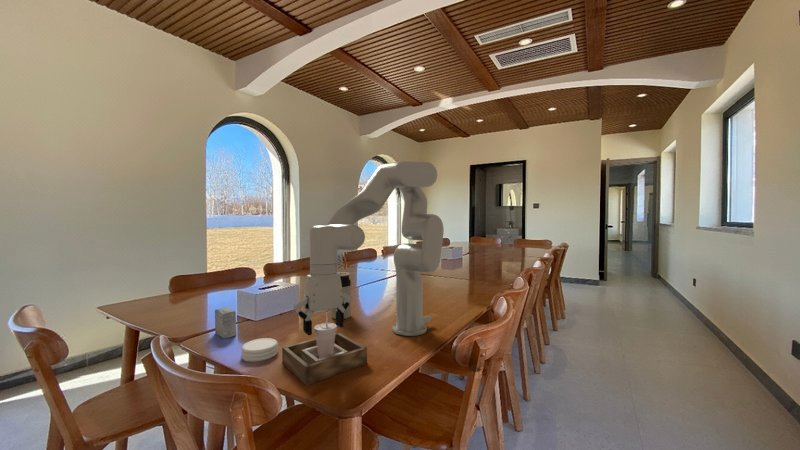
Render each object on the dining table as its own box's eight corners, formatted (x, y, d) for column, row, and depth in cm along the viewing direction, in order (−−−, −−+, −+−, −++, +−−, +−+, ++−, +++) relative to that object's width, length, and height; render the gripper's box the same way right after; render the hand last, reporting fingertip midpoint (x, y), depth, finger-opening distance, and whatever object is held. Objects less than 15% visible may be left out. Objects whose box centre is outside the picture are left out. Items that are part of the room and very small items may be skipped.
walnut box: (338, 346, 103) (338, 332, 103) (367, 363, 91) (367, 348, 91) (282, 362, 92) (282, 347, 92) (306, 385, 80) (306, 367, 80)
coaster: (241, 365, 91) (240, 353, 91) (242, 351, 100) (242, 340, 100) (278, 358, 95) (278, 347, 95) (276, 346, 104) (276, 335, 104)
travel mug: (348, 320, 130) (348, 275, 129) (329, 319, 130) (328, 275, 129) (352, 313, 138) (352, 271, 137) (333, 313, 138) (333, 271, 137)
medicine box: (236, 335, 113) (236, 311, 113) (222, 339, 110) (222, 313, 109) (228, 330, 118) (227, 306, 118) (214, 333, 115) (214, 309, 115)
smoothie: (325, 367, 87) (325, 316, 87) (309, 361, 91) (308, 312, 90) (342, 358, 93) (341, 310, 92) (325, 353, 96) (325, 306, 96)
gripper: (343, 264, 99) (344, 320, 100) (288, 271, 88) (289, 333, 89) (357, 267, 94) (357, 326, 94) (299, 275, 82) (300, 341, 83)
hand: (324, 329), depth 91 cm, fingers open, 9 cm apart
